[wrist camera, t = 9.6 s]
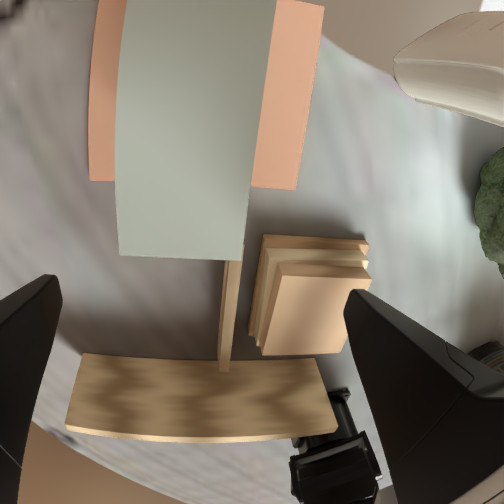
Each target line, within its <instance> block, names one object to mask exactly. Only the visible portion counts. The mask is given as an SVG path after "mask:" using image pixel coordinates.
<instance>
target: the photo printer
mask: <svg viewBox="0 0 504 504" xmlns="http://www.w3.org/2000/svg"><path fill="white" fill-rule="evenodd" d="M393 61H394V62H395V63H394V65H393V69H394V74H395V78H396V81H397V83H398V84H399V86H400V88H401V89H402V90H403V91H404V92H405V93H406V94H408V95H409V96H412V97H414V98H415V100H416V101H417V102H419V103H422V104H426V105H430V106H434V107H438V108H442V109H446V110H450V111H453V112H457V113H461V114H464V115H467V116H471V117H474V118H477V119H480V120H483V121H486V122H489V123H493V124H495V125H498V126H501V127H504V11H486V12H470V13H465V14H461V15H458V16H456V17H454V18H452V19H450V20H448V21H446V22H444V23H442V24H440V25H439V26H437V27H435V28H433V29H432V30H430V31H429V32H427V33H425V34H424V35H422V36H421V37H419V38H418V39H416V40H415V41H413V42H412V43H410V44H409V45H408V46H406V47H405V48H403V49H402V50H401V51H400V52H399V53H398V54H396V56H395V57H394V58H393Z"/></svg>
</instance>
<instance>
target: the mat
mask: <svg viewBox="0 0 504 504" xmlns="http://www.w3.org/2000/svg"><path fill="white" fill-rule="evenodd" d="M126 5H127V0H99V3H98V10H97V16H96V23H95V31H94V39H93V48H92V59H91V71H90V87H89V113H88V151H89V178H90V181H115V116H116V95H117V80H118V68H119V58H120V48H121V40H122V32H123V24H124V17H125V11H126ZM323 15H324V7H323V6H319V5H315V4H311V3H307V2H302V1H297V0H277V4H276V10H275V17H274V24H273V31H272V38H271V45H270V51H269V58H268V65H267V72H266V79H265V86H264V93H263V101H262V108H261V115H260V122H259V129H258V136H257V144H256V151H255V158H254V166H253V173H252V181H251V187H262V188H274V189H285V190H295V189H296V183H297V178H298V172H299V166H300V161H301V155H302V149H303V144H304V138H305V132H306V126H307V120H308V114H309V108H310V102H311V96H312V89H313V83H314V76H315V70H316V63H317V57H318V50H319V43H320V36H321V29H322V22H323Z"/></svg>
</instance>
